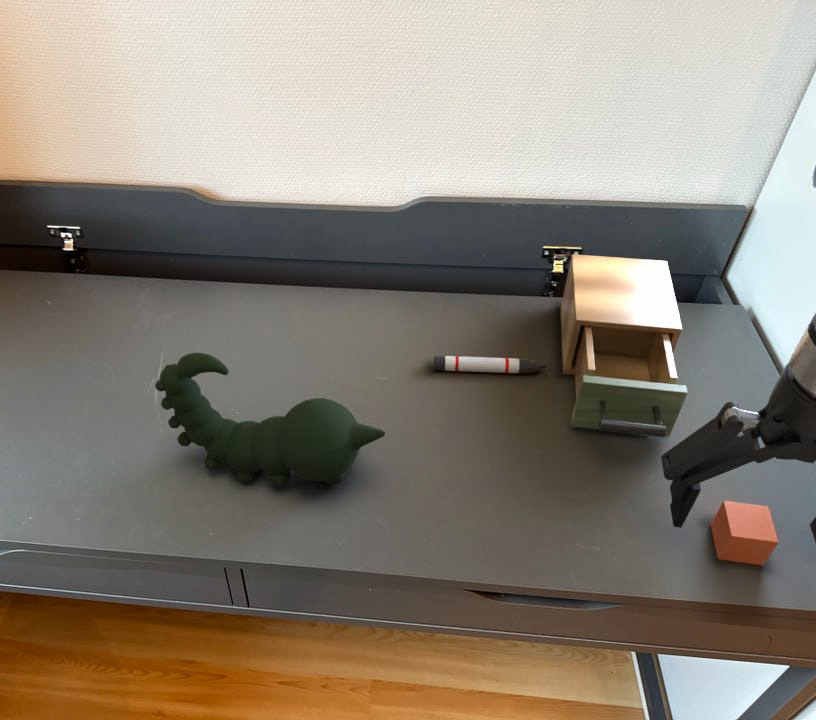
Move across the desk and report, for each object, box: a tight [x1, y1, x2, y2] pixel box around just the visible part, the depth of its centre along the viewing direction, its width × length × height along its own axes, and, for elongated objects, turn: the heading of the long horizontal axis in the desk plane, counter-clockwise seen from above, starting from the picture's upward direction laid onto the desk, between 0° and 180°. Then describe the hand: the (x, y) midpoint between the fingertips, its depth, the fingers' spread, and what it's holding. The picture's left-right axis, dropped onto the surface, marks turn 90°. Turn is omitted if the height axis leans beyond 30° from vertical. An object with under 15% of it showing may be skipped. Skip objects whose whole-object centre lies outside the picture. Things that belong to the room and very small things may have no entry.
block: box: [710, 500, 779, 566], centre depth 74 cm, size 4×4×4 cm
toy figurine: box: [154, 352, 386, 488], centre depth 80 cm, size 9×19×25 cm
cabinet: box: [560, 253, 683, 376], centre depth 96 cm, size 15×13×10 cm
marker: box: [433, 355, 549, 374], centre depth 96 cm, size 15×2×2 cm, turn 84°
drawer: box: [570, 325, 688, 438], centre depth 87 cm, size 18×11×8 cm, turn 168°
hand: (745, 526), depth 73 cm, fingers open, 13 cm apart
